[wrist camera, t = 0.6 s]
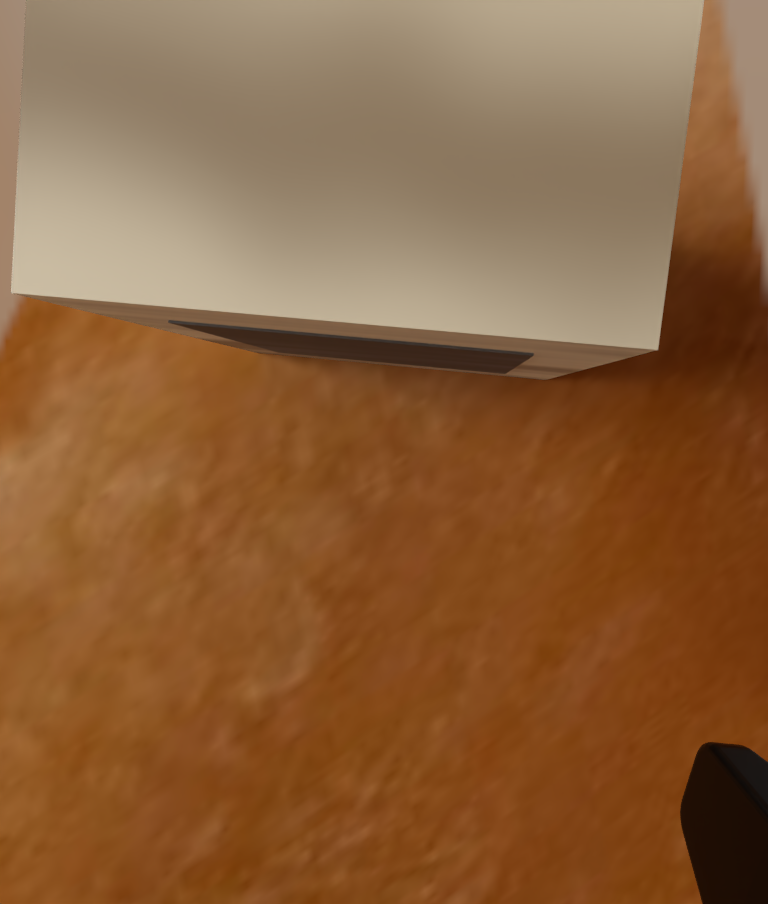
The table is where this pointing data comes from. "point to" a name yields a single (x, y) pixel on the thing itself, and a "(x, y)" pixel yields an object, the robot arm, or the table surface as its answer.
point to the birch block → (360, 174)
